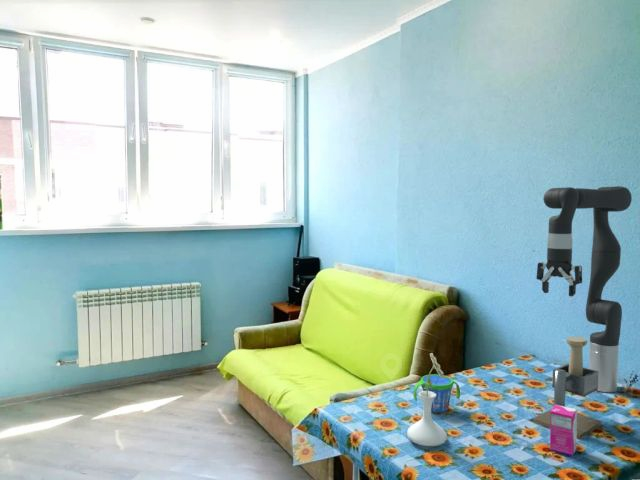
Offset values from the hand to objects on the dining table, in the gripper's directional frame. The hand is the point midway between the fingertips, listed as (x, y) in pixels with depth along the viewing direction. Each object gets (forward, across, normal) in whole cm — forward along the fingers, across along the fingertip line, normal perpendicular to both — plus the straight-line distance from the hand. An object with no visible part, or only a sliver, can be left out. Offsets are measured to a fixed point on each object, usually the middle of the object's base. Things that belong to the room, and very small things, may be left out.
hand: (558, 294), depth 161 cm
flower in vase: (+38, +10, +55) cm, 68 cm away
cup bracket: (+38, -10, +12) cm, 41 cm away
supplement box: (+38, -17, +30) cm, 51 cm away
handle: (+27, -10, +8) cm, 30 cm away
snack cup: (+38, +22, +36) cm, 57 cm away
